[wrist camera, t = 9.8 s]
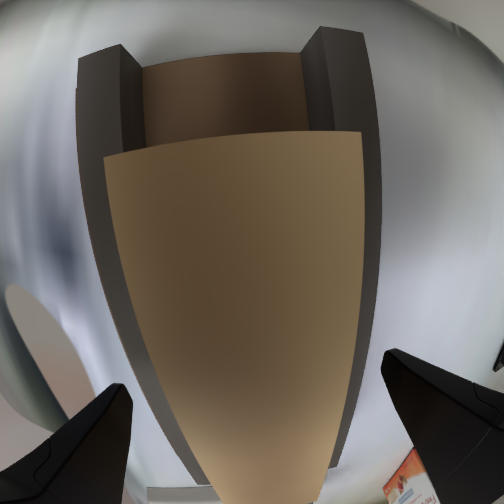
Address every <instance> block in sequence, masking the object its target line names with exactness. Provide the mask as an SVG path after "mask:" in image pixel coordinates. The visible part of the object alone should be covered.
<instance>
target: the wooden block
mask: <svg viewBox="0 0 504 504" xmlns="http://www.w3.org/2000/svg"><path fill="white" fill-rule="evenodd" d="M103 158H104V167H105V176H106V183H107V191H108V198H109V204H110V210H111V216H112V221H113V227H114V232H115V237H116V242H117V246H118V251H119V255H120V260H121V264H122V268H123V272H124V276H125V280H126V284H127V287H128V291H129V295H130V298H131V302H132V305H133V309H134V312H135V315H136V318H137V321H138V325H139V328H140V331H141V334H142V337H143V340H144V343H145V345H146V348H147V351H148V354H149V356H150V359H151V362H152V364H153V367H154V370H155V372H156V375H157V377H158V380H159V382H160V385H161V387H162V389H163V392H164V394H165V396H166V399H167V401H168V403H169V405H170V408H171V410H172V412H173V414H174V416H175V418H176V421H177V423H178V425H179V427H180V429H181V431H182V433H183V435H184V437H185V439H186V441H187V443H188V445H189V446H190V448H191V450H192V452H193V454H194V456H195V458H196V459H197V461H198V463H199V465H200V466H201V468H202V470H203V472H204V473H205V475H206V477H207V478H208V480H209V482H210V483H211V485H212V487H213V488H214V490H215V491H216V493H217V494H218V496H219V498H220V499H221V501H222V502H223V504H305V503H310V502H314V501H317V500H318V497H319V494H320V491H321V488H322V485H323V482H324V479H325V476H326V473H327V470H328V467H329V463H330V460H331V457H332V453H333V450H334V446H335V442H336V439H337V435H338V431H339V427H340V423H341V419H342V414H343V410H344V405H345V401H346V396H347V391H348V386H349V380H350V375H351V369H352V363H353V357H354V350H355V343H356V336H357V328H358V320H359V311H360V301H361V289H362V276H363V258H364V226H365V200H364V168H363V151H362V138H361V132H349V131H287V132H266V133H251V134H239V135H229V136H219V137H211V138H203V139H195V140H188V141H182V142H176V143H170V144H164V145H158V146H153V147H148V148H143V149H138V150H133V151H129V152H124V153H120V154H116V155H111V156H107V157H103Z"/></svg>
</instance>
